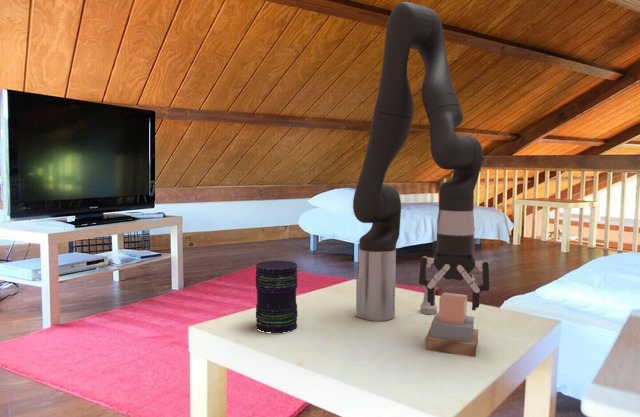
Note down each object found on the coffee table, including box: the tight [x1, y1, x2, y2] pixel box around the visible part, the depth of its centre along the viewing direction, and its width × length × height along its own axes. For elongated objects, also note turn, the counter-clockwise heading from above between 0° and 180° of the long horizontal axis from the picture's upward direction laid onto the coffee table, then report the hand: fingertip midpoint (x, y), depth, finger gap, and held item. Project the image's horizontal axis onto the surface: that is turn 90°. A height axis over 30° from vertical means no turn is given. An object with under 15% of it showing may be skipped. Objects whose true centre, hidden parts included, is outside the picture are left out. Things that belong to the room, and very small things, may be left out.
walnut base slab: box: [424, 326, 479, 358], centre depth 103 cm, size 10×10×3 cm
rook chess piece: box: [419, 285, 438, 315], centre depth 126 cm, size 4×4×8 cm
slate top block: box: [430, 312, 475, 342], centre depth 103 cm, size 8×8×3 cm
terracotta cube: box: [438, 292, 468, 324], centre depth 103 cm, size 5×5×5 cm
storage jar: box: [255, 260, 299, 334], centre depth 114 cm, size 10×10×15 cm
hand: (453, 307), depth 102 cm, fingers open, 8 cm apart
